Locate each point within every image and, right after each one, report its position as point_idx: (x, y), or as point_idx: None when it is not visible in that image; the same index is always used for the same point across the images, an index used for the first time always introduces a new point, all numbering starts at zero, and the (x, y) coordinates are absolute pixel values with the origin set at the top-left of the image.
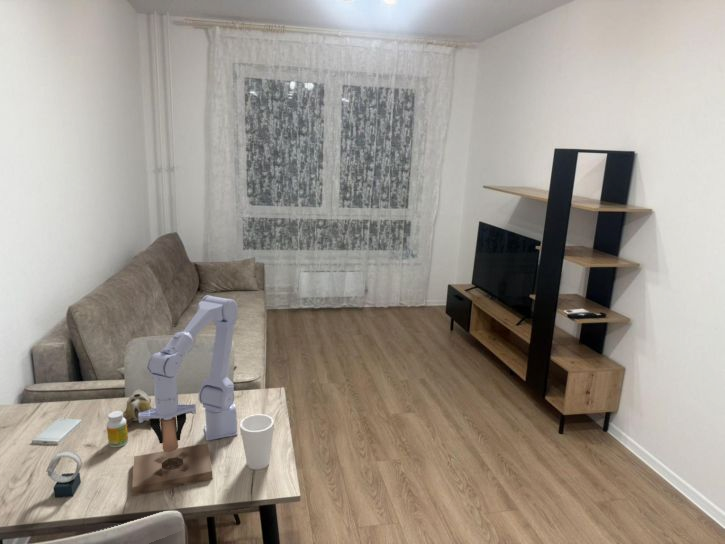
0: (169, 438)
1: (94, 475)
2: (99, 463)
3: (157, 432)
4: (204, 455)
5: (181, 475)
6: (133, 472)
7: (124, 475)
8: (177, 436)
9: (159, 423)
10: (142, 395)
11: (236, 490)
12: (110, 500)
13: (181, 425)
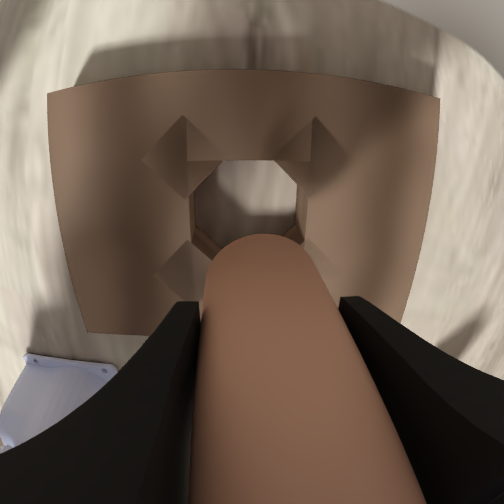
0: (285, 303)
1: (483, 274)
2: (459, 327)
3: (447, 368)
4: (83, 241)
5: (202, 88)
6: (426, 212)
7: (426, 246)
8: (190, 322)
9: (491, 485)
10: None
11: (10, 19)
12: (473, 116)
13: (82, 433)
